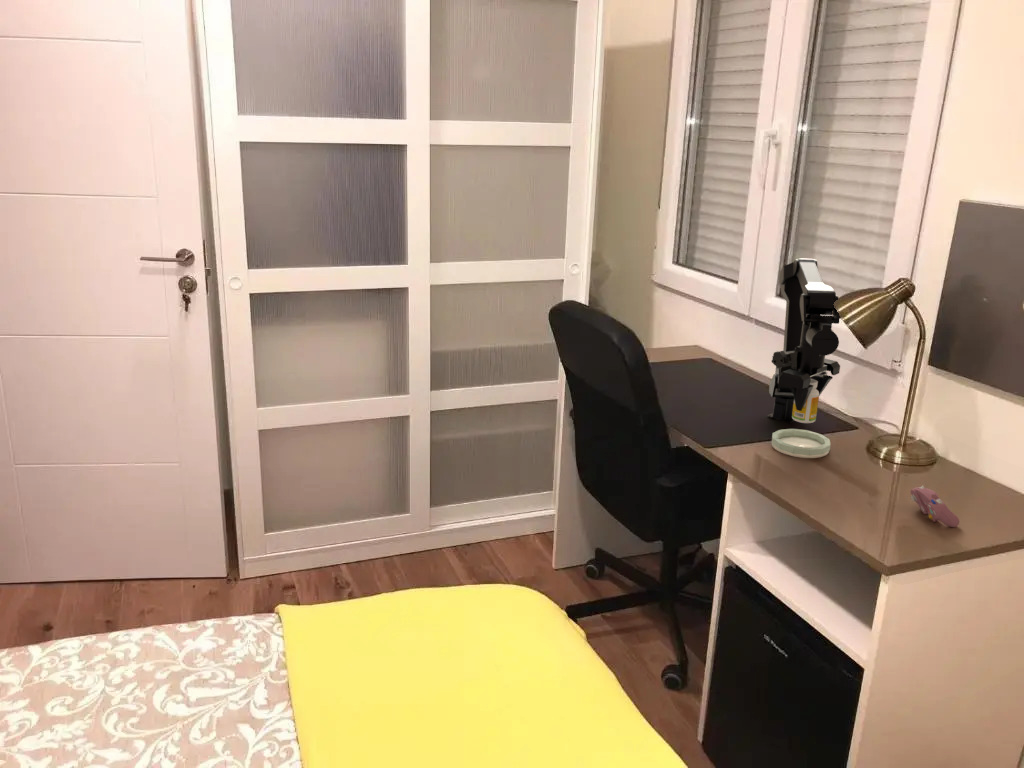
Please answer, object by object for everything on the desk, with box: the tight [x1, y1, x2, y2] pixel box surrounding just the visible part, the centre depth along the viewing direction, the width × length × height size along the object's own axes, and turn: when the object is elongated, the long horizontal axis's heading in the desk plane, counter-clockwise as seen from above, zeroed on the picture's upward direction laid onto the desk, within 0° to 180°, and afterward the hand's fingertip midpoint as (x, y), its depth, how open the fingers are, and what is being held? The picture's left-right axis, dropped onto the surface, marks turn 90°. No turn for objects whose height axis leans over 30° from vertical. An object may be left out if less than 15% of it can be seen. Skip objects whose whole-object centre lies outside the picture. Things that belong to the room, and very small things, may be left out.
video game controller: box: [910, 485, 960, 528], centre depth 162 cm, size 10×5×7 cm, turn 4°
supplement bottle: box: [792, 379, 820, 424], centre depth 193 cm, size 5×5×10 cm
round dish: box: [771, 428, 831, 459], centre depth 196 cm, size 13×13×2 cm
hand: (805, 407), depth 193 cm, fingers closed on supplement bottle, 5 cm apart
